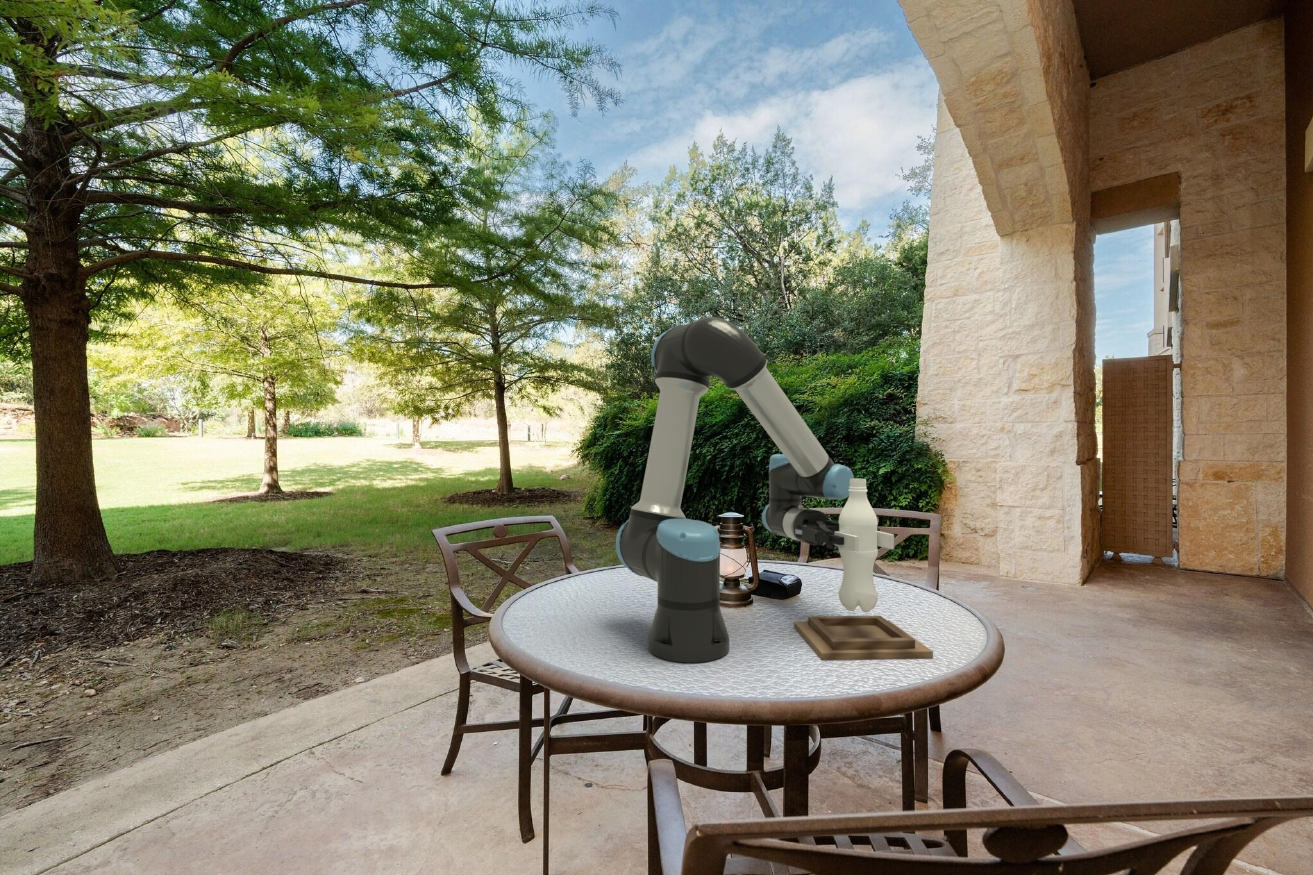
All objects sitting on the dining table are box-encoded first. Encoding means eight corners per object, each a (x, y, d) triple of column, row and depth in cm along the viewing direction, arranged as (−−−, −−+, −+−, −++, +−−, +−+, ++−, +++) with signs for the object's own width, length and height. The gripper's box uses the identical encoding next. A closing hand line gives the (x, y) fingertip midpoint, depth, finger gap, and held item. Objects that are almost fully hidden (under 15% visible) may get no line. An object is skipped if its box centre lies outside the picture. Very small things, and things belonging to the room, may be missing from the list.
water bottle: (838, 612, 111) (838, 479, 111) (838, 602, 118) (838, 477, 118) (878, 615, 109) (878, 480, 109) (877, 605, 115) (876, 478, 116)
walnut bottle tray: (822, 660, 104) (822, 644, 104) (794, 627, 122) (794, 614, 122) (932, 658, 104) (932, 642, 104) (888, 626, 122) (888, 613, 122)
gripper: (767, 510, 127) (827, 524, 105) (845, 507, 133) (919, 520, 111) (767, 545, 127) (828, 566, 105) (845, 540, 133) (919, 559, 111)
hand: (874, 542), depth 108 cm, fingers closed on water bottle, 7 cm apart
